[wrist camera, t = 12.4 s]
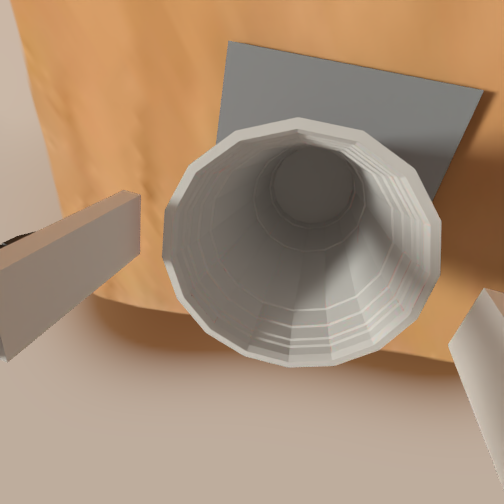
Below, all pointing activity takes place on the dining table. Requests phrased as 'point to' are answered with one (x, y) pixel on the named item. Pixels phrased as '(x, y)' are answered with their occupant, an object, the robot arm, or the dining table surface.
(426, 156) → the rest mat
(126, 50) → the dining table surface
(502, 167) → the dining table surface
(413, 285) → the plastic cup
